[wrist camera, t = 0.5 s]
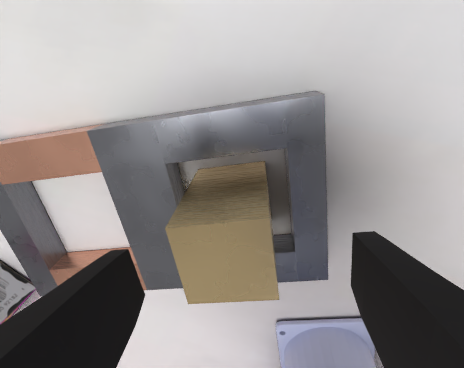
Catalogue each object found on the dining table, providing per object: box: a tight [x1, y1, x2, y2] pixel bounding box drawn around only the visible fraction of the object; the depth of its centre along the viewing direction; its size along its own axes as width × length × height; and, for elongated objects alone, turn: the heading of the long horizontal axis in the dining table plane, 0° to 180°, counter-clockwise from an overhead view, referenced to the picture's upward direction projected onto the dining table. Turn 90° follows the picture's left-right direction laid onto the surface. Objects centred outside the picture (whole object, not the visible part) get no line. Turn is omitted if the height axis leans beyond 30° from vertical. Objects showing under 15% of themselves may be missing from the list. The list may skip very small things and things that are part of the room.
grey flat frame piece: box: [0, 91, 328, 296], centre depth 18 cm, size 12×22×2 cm, turn 99°
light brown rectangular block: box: [165, 161, 279, 304], centre depth 15 cm, size 4×4×7 cm
